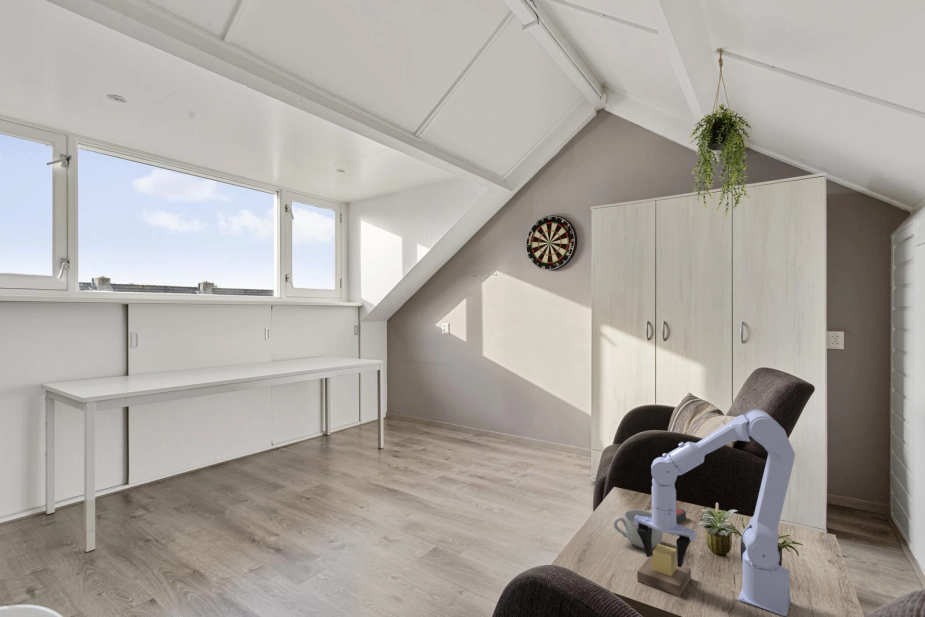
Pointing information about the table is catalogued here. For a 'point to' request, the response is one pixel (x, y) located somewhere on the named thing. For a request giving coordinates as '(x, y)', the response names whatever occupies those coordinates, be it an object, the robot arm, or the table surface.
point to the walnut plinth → (664, 578)
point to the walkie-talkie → (679, 515)
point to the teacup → (632, 529)
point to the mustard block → (664, 559)
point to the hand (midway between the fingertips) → (664, 560)
